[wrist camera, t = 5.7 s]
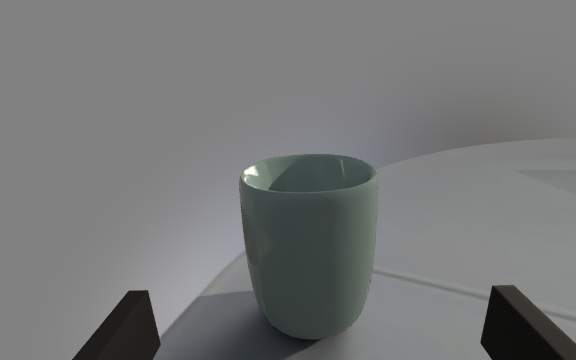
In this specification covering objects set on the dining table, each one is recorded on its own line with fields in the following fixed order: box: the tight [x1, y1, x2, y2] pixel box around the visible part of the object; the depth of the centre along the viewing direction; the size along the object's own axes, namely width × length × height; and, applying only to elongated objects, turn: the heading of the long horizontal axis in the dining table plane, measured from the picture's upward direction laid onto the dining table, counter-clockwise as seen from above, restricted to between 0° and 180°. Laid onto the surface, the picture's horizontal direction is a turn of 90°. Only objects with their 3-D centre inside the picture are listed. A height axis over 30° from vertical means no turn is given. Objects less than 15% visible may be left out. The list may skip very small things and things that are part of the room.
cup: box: [239, 154, 378, 340], centre depth 18 cm, size 8×8×10 cm
